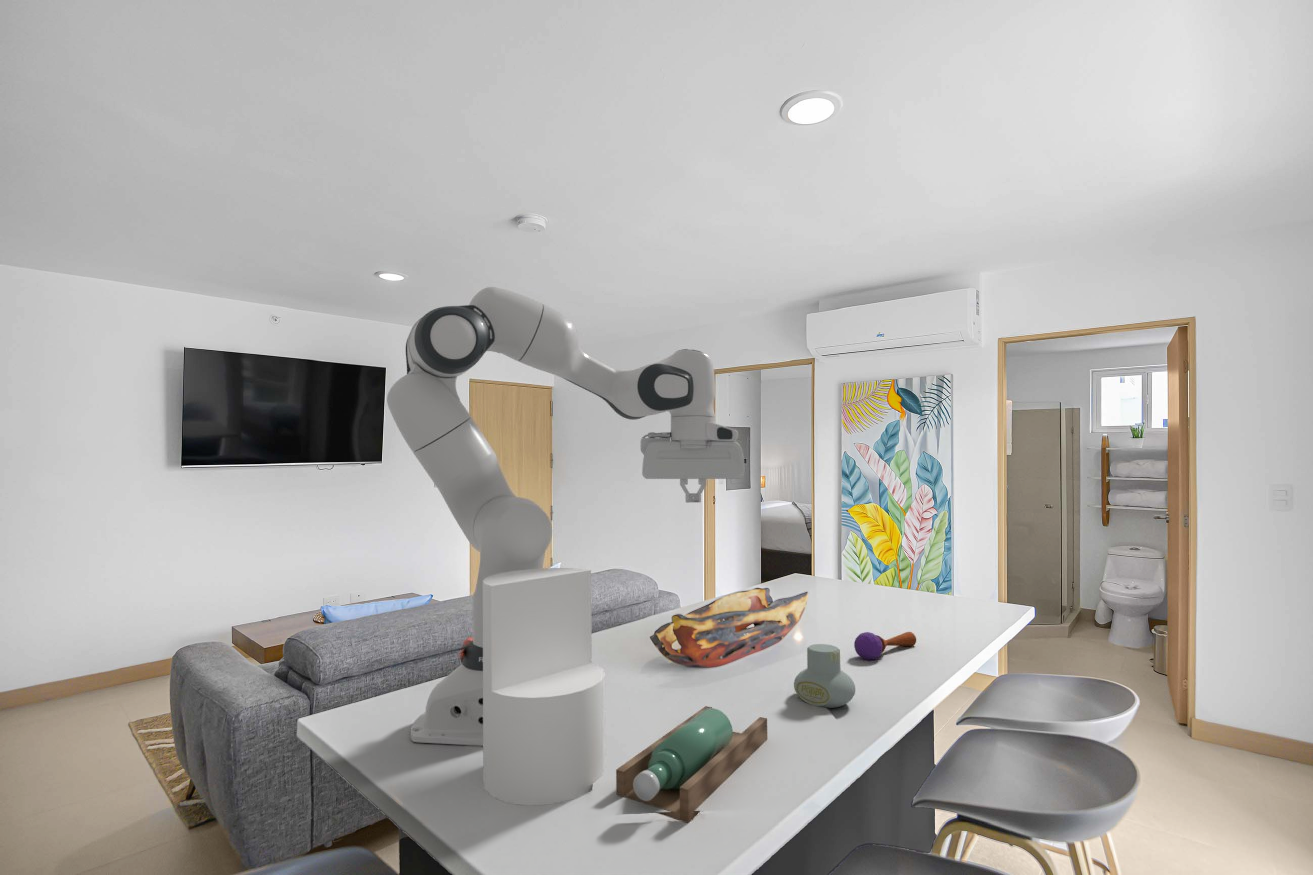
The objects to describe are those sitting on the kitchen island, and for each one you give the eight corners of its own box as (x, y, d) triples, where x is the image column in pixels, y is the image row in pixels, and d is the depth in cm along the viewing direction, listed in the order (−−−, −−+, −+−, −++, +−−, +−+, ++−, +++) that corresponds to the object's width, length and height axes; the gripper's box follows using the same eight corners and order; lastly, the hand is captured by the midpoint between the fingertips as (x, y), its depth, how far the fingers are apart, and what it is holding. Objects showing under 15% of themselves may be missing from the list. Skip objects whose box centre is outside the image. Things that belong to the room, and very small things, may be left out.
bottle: (712, 755, 100) (641, 820, 82) (689, 720, 102) (615, 776, 84) (740, 736, 98) (673, 799, 80) (716, 700, 100) (646, 753, 82)
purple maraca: (923, 631, 155) (874, 639, 143) (918, 655, 156) (869, 665, 143) (901, 622, 160) (851, 629, 148) (896, 645, 160) (846, 654, 148)
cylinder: (460, 774, 94) (460, 578, 95) (559, 738, 106) (557, 564, 108) (528, 820, 82) (526, 594, 83) (630, 773, 94) (628, 576, 95)
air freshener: (786, 701, 121) (785, 647, 122) (810, 690, 127) (809, 638, 128) (840, 717, 114) (838, 658, 114) (863, 704, 120) (861, 648, 120)
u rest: (706, 730, 109) (705, 706, 109) (767, 744, 103) (767, 718, 103) (616, 800, 86) (616, 769, 87) (688, 822, 81) (688, 789, 81)
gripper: (640, 431, 127) (640, 503, 126) (746, 431, 127) (746, 503, 127) (640, 433, 133) (640, 501, 132) (740, 433, 134) (741, 501, 133)
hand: (693, 502), depth 129 cm, fingers closed
